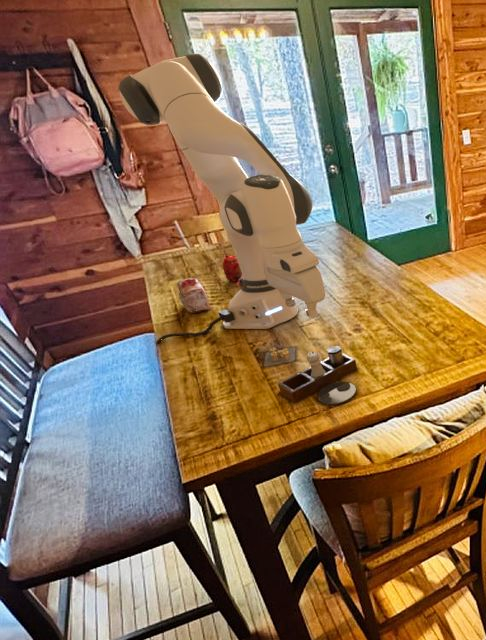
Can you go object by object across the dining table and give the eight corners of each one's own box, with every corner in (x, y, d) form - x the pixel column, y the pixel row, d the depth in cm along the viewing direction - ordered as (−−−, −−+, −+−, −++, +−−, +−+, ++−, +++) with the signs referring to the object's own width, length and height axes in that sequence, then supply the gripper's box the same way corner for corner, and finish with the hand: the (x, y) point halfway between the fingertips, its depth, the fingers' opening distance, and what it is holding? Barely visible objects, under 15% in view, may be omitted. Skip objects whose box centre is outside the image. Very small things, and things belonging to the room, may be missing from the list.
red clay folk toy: (237, 283, 184) (223, 244, 176) (222, 282, 186) (208, 243, 178) (251, 275, 190) (238, 237, 182) (236, 274, 192) (224, 236, 184)
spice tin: (331, 375, 126) (325, 353, 123) (333, 367, 129) (328, 346, 125) (345, 373, 126) (339, 352, 123) (347, 366, 129) (342, 345, 126)
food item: (214, 309, 165) (203, 282, 160) (188, 317, 161) (176, 289, 156) (205, 297, 174) (195, 271, 169) (180, 304, 170) (169, 277, 165)
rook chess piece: (313, 376, 126) (305, 350, 121) (330, 375, 126) (323, 348, 122) (309, 386, 122) (301, 359, 118) (327, 385, 122) (320, 357, 118)
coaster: (314, 406, 115) (314, 405, 114) (322, 385, 122) (322, 383, 122) (353, 403, 115) (352, 401, 115) (358, 382, 122) (358, 380, 122)
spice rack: (295, 403, 116) (291, 392, 115) (280, 393, 120) (277, 383, 119) (357, 369, 128) (355, 359, 126) (342, 361, 131) (340, 351, 130)
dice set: (290, 359, 134) (288, 353, 133) (270, 362, 133) (268, 356, 132) (290, 350, 138) (289, 344, 137) (271, 353, 137) (269, 348, 136)
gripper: (249, 250, 112) (267, 305, 119) (295, 267, 99) (313, 327, 107) (274, 241, 115) (291, 295, 123) (322, 258, 103) (337, 316, 111)
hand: (301, 310), depth 115 cm, fingers open, 8 cm apart
